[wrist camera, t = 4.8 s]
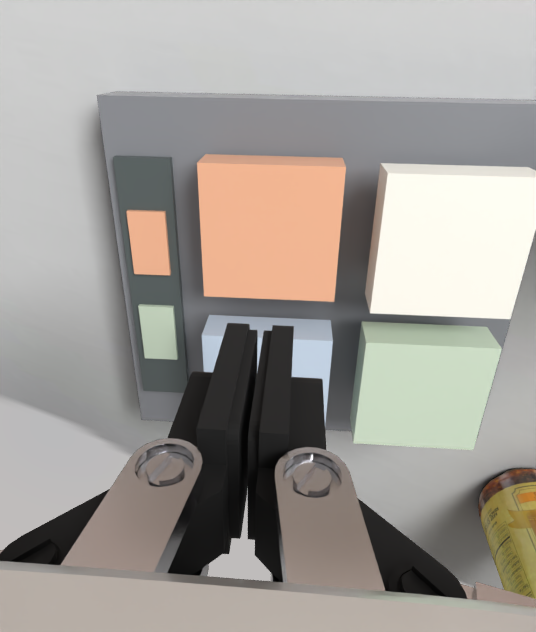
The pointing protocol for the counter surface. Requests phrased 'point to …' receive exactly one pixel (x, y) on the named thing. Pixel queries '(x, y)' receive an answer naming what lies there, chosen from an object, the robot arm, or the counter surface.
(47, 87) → the counter surface
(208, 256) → the terracotta key
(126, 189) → the keypad
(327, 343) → the blue key
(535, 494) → the sauce bottle
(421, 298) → the cream key
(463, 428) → the sage key
